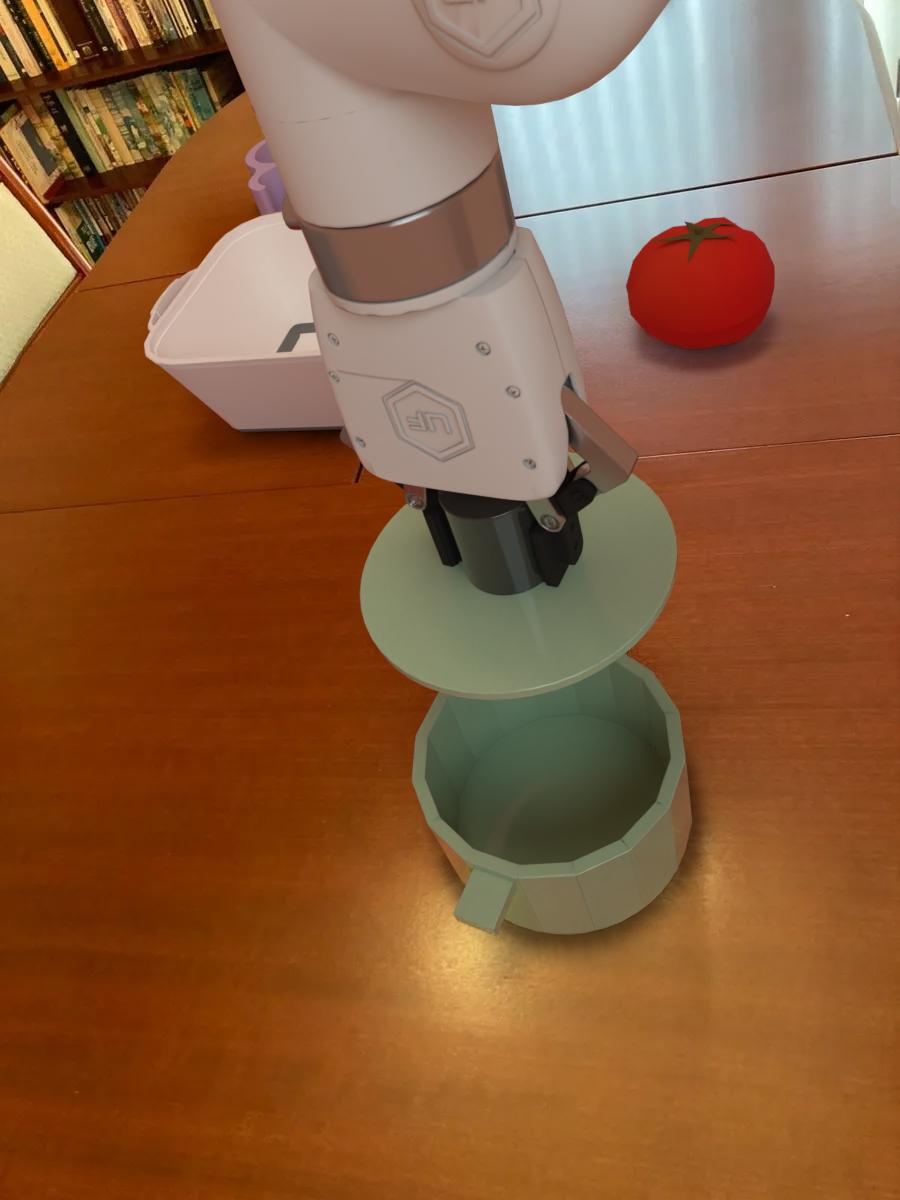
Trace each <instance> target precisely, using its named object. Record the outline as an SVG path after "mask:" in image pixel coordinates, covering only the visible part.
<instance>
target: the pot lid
mask: <svg viewBox="0 0 900 1200" xmlns="http://www.w3.org/2000/svg"><path fill="white" fill-rule="evenodd" d="M568 456H569V457H570V459H571V461H572V463H573V465H574V466H575V467H577V466H578V465H579V464H580V463H582V462H583V461H585V460H584V459H583V458H582V457H581V456H580V455H579V454H577V453H576V452H571V451H568ZM437 495H438V500H439V503H440V505H441V508H442V511H443V514H444V516H445V519H446V522H447V524H448V527H449V530H450V532H451V535H452V538H453V541H454V543H455V546H456V549H457V551H458V554H459V557H460V562H459V564H458V565H455V566H454V567H450V566H445V565H443V564H442V561H441V559H440V556H439V554H438V551H437V549H436V546H435V544H434V541H433V538H432V536H431V533H430V531H429V528H428V526H427V523H426V521H425V518H424V516H423V512H422V510H417V509H414V508H412V507H411V506H409V505H408V504H407V503H406V504H404V505H403V506H402V507H401V508H400V509H399V510H398V511H397V512H396V513H395V514H394V515H393V516H392V518H390V519H389V520H388V522H387V523H386V524H385V526H384V528H382V530H381V531H380V533H378V536H377V538H376V539H375V541H374V543H373V545H372V546H371V548H370V550H369V553H368V554H367V557H366V560H365V562H364V566H363V570H362V573H361V577H360V588H359V604H360V612H361V615H362V619H363V623H364V626H365V628H366V630H367V632H368V634H369V637H370V638H371V641H372V642H373V644H374V646H375V647H376V649H377V650H378V651H379V653H380V655H382V657H383V658H384V659H385V660H386V661H387V662H388V663H389V664H390V665H391V666H392V667H393V668H394V669H395V670H396V671H398V672H399V673H401V674H402V675H403V676H405V677H406V678H407V679H409V680H410V681H413V682H415V683H417V684H419V685H420V686H422V687H424V688H426V689H429V690H433V691H435V692H437V693H438V692H441V693H444V694H447V695H452V696H457V697H462V698H468V699H480V700H507V699H517V698H524V697H530V696H536V695H540V694H543V693H547V692H551V691H555V690H558V689H561V688H564V687H566V686H569V685H571V684H574V683H577V682H579V681H581V680H583V679H585V678H587V677H589V676H591V675H593V674H595V673H597V672H599V671H601V670H602V669H604V668H605V667H607V666H608V665H610V664H611V663H613V662H614V661H616V660H617V659H619V658H620V657H621V656H622V655H624V654H626V653H627V652H628V651H630V650H631V649H632V648H634V646H636V645H637V643H638V642H640V640H641V639H642V638H643V637H644V636H645V635H646V634H647V633H648V632H649V631H650V630H651V628H652V627H653V625H654V624H655V623H656V621H657V620H658V618H659V617H660V615H661V614H662V612H663V610H664V609H665V606H666V605H667V602H668V601H669V598H670V596H671V595H672V591H673V588H674V584H675V581H676V577H677V571H678V562H679V557H678V555H679V553H678V540H677V535H676V531H675V526H674V522H673V520H672V518H671V515H670V513H669V511H668V509H667V507H666V506H665V504H664V503H663V501H662V500H661V499H660V497H659V495H658V494H657V493H656V492H655V491H654V490H653V489H652V488H651V487H650V486H649V485H648V484H647V483H646V482H645V481H643V480H642V479H641V478H639V477H638V476H637V475H636V474H634V473H633V472H632V473H631V475H630V477H629V479H628V481H626V482H625V483H623V484H621V485H619V486H618V487H616V488H614V489H612V490H610V491H608V492H606V493H605V494H602V493H601V494H600V495H598V496H596V497H595V498H594V500H593V501H592V503H590V504H589V505H588V506H586V507H585V508H584V509H582V510H581V511H579V512H578V516H579V521H580V526H581V531H582V535H583V550H582V553H581V555H580V558H579V560H578V562H577V563H576V564H575V565H569V566H568V568H567V570H566V572H565V574H564V577H563V579H562V581H561V583H560V585H559V586H558V587H552V586H547V585H546V583H545V582H543V580H542V576H541V572H540V569H539V565H538V561H537V558H536V554H535V550H534V547H533V543H532V539H531V529H532V527H533V525H534V523H535V521H536V518H535V517H534V515H533V513H532V512H531V510H530V509H529V507H528V505H527V504H526V502H525V501H518V500H509V499H501V498H493V497H486V496H479V495H472V494H465V493H458V492H451V491H445V490H437Z"/></svg>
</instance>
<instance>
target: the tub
mask: <svg viewBox="0 0 900 1200" xmlns="http://www.w3.org/2000/svg"><path fill="white" fill-rule="evenodd" d="M315 268H316V265H315V262H314V260H313V257H312V255H311V252H310V250H309V247H308V245H307V242H306V240H305V237H304V235H303V232H302V230H291V229H289V228H288V227H287V225H286V224H285V222H284V220H283V215H282V212H277V213H272V214H268V215H263V216H261V215H260V216H257V217H255V218H253V219H250V220H248V221H244V222H243V223H240V224H239V225H238V226H236V227H234V228H233V229H231V230H230V231H227V233H225V234H224V235H223V236H222V237H220V239H219V240H217V242H216V243H215V244H214V245H213V247H211V249H210V251H209V252H208V253H207V255H206V256H205V257H204V259H202V262H201V263H200V264H199V266H197V267H196V268H194V269H192V270H190V271H188V272H186V273H185V274H183V275H182V276H180V277H179V278H175V279H174V280H173V281H172V282H171V283H170V284H169V285H168V286H167V287H166V288H165V290H164V291H163V292H161V293H162V294H160V296H159V298H157V300H156V301H155V304H154V305H153V307H152V309H150V310H151V311H150V312H149V315H150V316H149V320H148V323H147V330H148V331H149V333H148V335H147V337H146V339H145V341H144V343H143V346H144V347H143V349H144V355H145V357H146V358H147V359H149V361H151V362H152V363H154V364H155V365H157V366H159V367H160V368H162V369H163V370H164V371H165V372H166V373H168V375H170V376H171V377H172V378H174V380H176V381H177V382H179V383H180V385H182V386H183V387H184V388H186V389H187V391H189V392H190V393H191V394H192V395H194V396H195V397H196V398H197V399H199V400H200V401H201V402H202V403H203V404H205V406H207V407H208V408H209V409H210V410H212V411H213V412H214V413H215V414H216V415H217V416H219V417H220V418H221V419H222V420H223V421H225V423H227V424H228V425H230V427H231V428H232V429H235V430H236V431H238V432H242V433H261V432H295V431H297V432H298V431H299V432H301V431H330V430H331V431H332V430H333V431H334V430H342V429H343V426H344V423H343V420H342V417H341V414H340V412H339V409H338V406H337V403H336V400H335V398H334V395H333V392H332V389H331V386H330V383H329V380H328V376H327V373H326V370H325V367H324V363H323V360H322V356H321V352H320V348H319V344H318V340H317V336H316V331H315V326H314V321H313V315H312V309H311V302H310V294H309V286H308V281H309V277H310V275H311V273H312V272H313V270H314V269H315Z"/></svg>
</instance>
